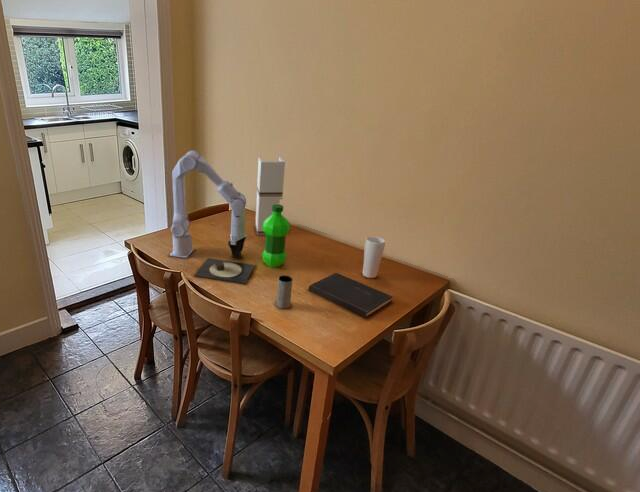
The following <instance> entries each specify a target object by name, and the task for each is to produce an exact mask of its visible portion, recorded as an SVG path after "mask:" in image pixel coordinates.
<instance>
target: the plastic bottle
mask: <svg viewBox="0 0 640 492" xmlns="http://www.w3.org/2000/svg"><path fill="white" fill-rule="evenodd" d="M272 211H273V214H272V215H271V216H269V217H268V218H267V219H266V220H265V221H264V223H263V231H264V232H265V233H266V235H264V236H265V239H264V250H263V251H262V253H261V258H262V260H263V262H264V264H266V265H267V266H268V267H270V268H279V267H280V266H281V265H283V264H284V263H285V261H286V260H287V256H288V255H287V252H286V250H285V249H286V238H287V234H288V233H289V232H290V228H291V224H290V221H288V219H287V218H286V217H285V216H283V214H282V212H284V206H283V204H279V205H278V204H275V205H273V206H272Z"/></svg>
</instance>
